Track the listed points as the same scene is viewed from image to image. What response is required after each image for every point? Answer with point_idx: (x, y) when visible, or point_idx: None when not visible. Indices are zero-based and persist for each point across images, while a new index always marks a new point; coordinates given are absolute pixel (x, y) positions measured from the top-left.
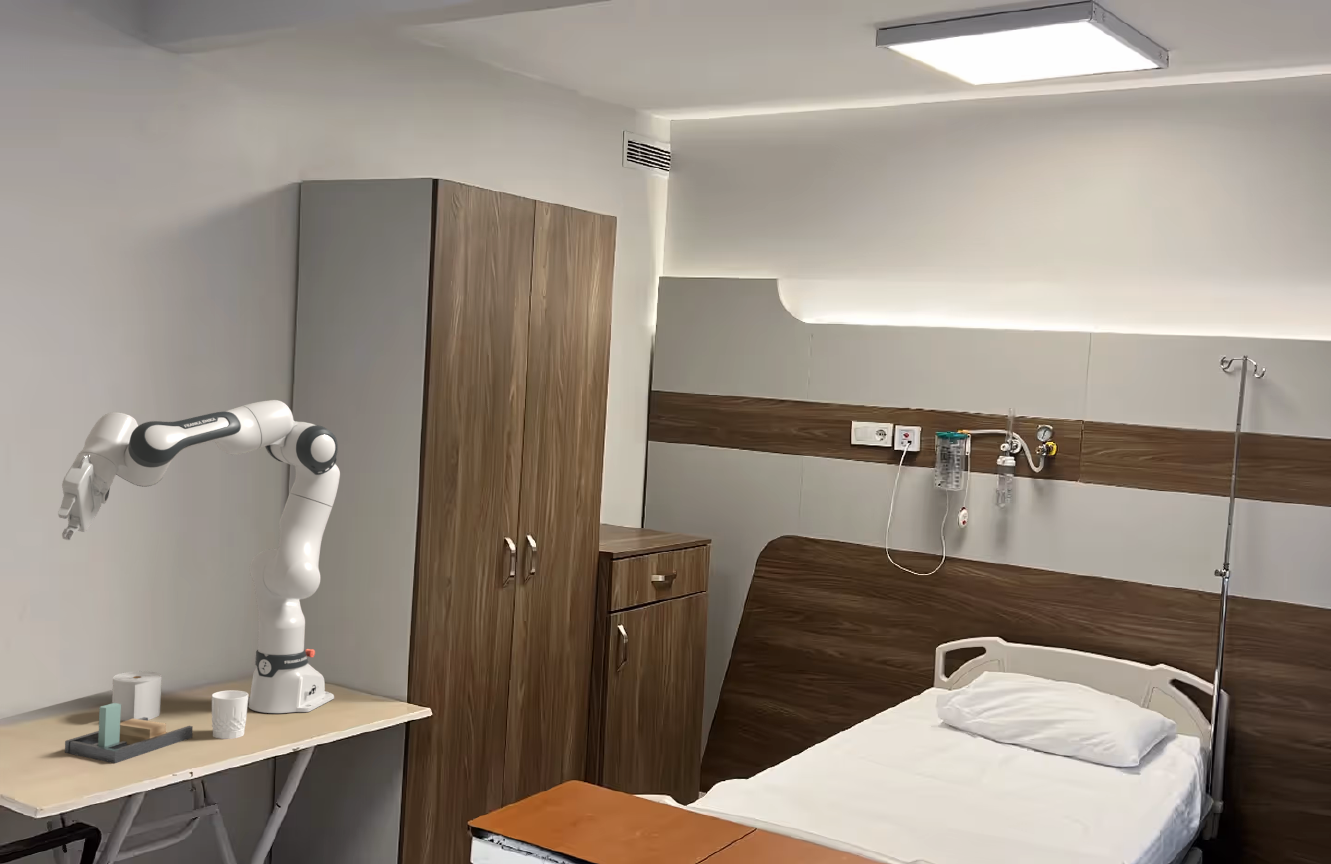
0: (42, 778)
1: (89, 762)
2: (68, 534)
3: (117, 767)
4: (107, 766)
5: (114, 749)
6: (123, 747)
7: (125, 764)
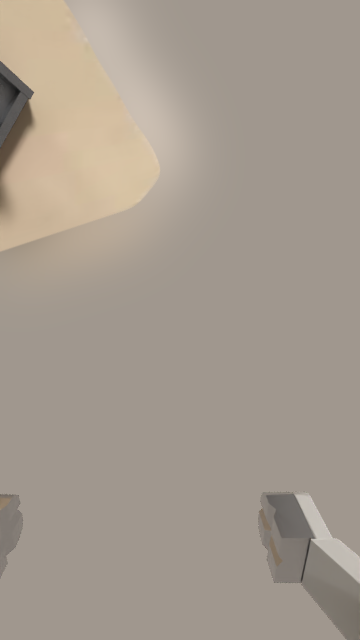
0: (78, 190)
1: None
2: (9, 517)
3: None
4: None
5: (19, 94)
6: (9, 77)
7: None
